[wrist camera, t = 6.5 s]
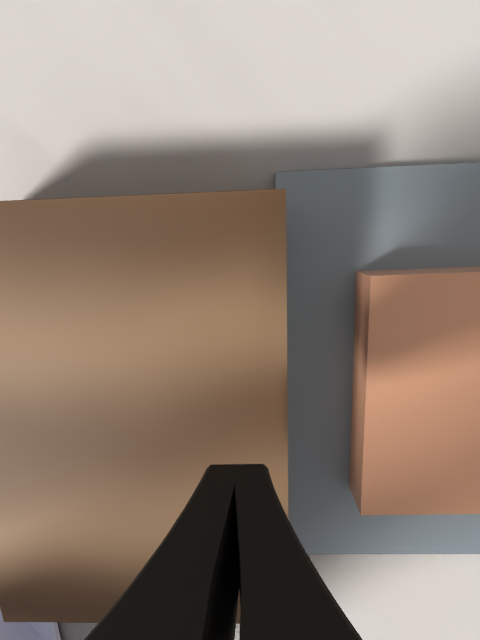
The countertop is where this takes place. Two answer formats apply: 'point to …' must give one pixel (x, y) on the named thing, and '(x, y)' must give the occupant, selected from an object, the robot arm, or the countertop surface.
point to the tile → (416, 392)
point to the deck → (130, 380)
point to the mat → (338, 334)
